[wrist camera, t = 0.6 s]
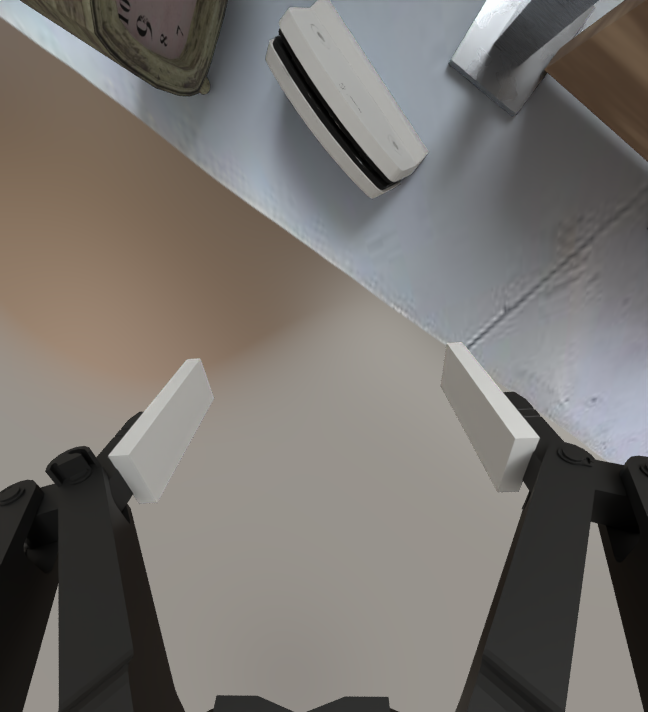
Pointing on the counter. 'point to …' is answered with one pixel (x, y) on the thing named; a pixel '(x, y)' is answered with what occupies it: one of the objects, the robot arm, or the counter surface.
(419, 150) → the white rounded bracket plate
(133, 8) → the tabletop clock
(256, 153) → the counter surface
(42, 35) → the counter surface
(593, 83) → the gate leaf
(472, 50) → the gate frame
